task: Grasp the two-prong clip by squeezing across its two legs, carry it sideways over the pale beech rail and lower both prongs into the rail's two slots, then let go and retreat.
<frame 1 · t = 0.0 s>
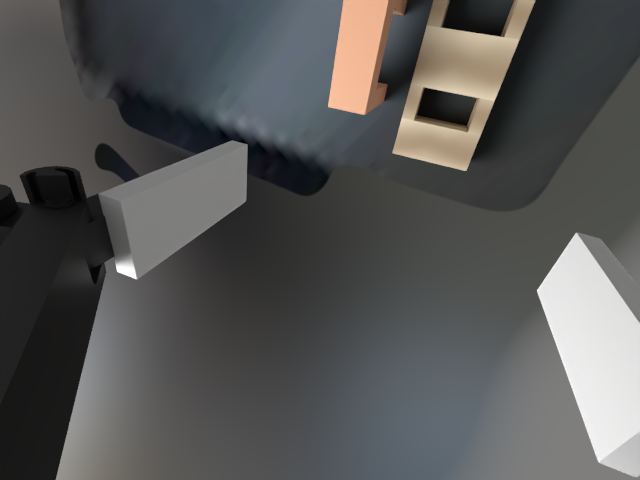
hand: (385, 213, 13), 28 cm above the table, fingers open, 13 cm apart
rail: (460, 62, 33), on the table
clip: (379, 48, 35), on the table
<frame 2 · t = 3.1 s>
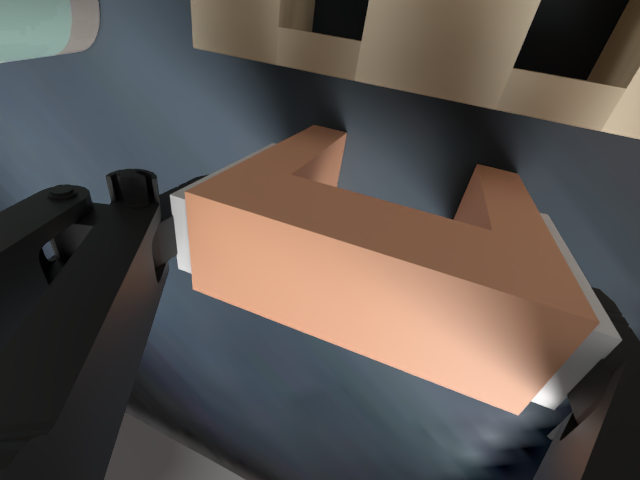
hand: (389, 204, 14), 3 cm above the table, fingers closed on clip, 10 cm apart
clip: (399, 180, 17), on the table, touching gripper
when the fingers open (5 cm above the table, at t = 7.9 s): clip drops 2 cm, resting in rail.
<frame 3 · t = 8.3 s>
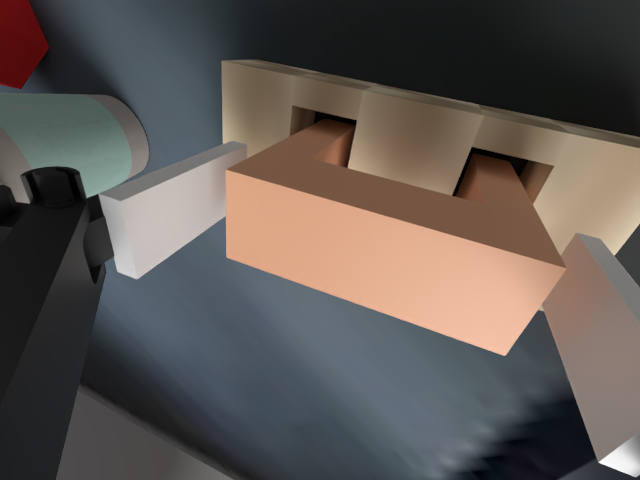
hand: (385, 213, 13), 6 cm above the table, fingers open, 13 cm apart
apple: (24, 27, 23), on the table
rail: (404, 169, 18), on the table
coffee cup: (120, 136, 25), on the table
clip: (402, 169, 18), resting in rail
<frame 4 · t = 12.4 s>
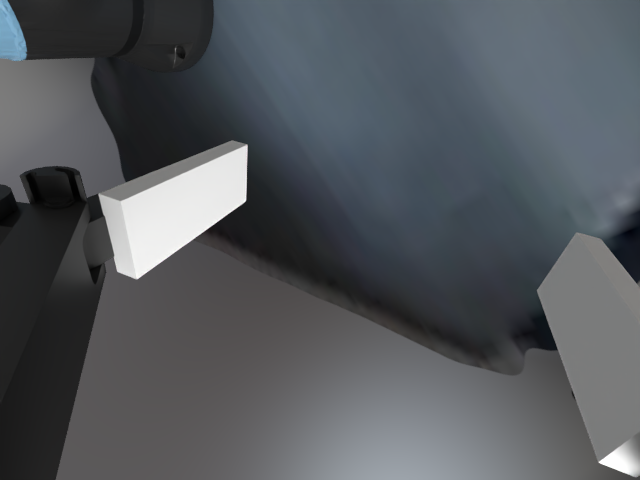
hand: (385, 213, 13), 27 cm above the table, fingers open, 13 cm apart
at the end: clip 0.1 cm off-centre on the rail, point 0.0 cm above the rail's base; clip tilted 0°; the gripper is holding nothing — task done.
